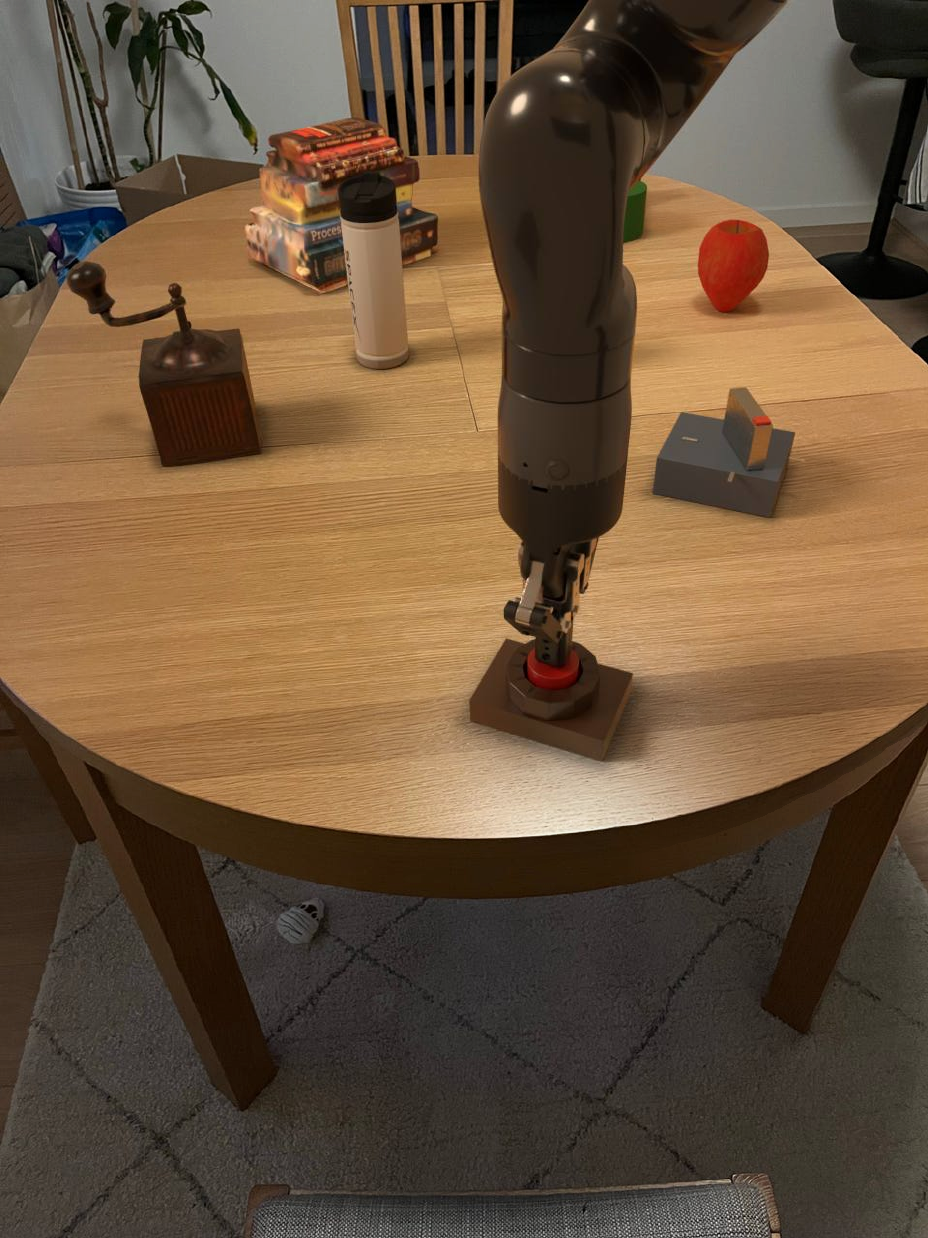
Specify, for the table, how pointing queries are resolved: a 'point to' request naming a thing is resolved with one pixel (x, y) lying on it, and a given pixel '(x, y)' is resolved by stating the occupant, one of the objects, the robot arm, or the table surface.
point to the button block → (552, 702)
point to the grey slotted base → (719, 467)
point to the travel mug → (374, 269)
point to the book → (329, 200)
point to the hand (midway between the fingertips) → (552, 658)
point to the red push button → (552, 673)
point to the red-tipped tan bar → (747, 428)
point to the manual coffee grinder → (185, 379)
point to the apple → (732, 262)
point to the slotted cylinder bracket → (635, 212)
